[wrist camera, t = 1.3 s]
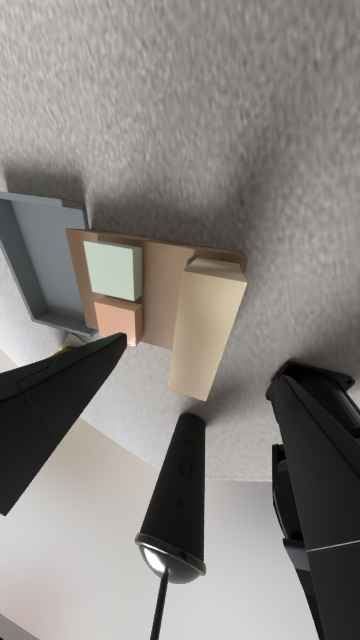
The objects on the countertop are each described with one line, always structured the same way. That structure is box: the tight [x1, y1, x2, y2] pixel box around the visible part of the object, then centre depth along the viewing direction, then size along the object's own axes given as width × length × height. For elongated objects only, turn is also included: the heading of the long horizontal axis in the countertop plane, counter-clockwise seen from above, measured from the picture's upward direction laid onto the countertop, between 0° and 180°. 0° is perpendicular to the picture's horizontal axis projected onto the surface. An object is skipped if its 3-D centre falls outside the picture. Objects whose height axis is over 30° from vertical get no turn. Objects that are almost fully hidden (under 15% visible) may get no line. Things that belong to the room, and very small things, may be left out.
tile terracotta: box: [94, 297, 142, 347], centre depth 16 cm, size 4×4×2 cm
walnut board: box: [65, 228, 248, 350], centre depth 16 cm, size 15×10×3 cm, turn 82°
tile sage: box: [83, 240, 142, 301], centre depth 13 cm, size 4×4×2 cm
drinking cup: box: [135, 414, 206, 640], centre depth 19 cm, size 8×8×20 cm
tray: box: [0, 192, 99, 338], centre depth 18 cm, size 9×14×2 cm, turn 172°
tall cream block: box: [167, 256, 247, 401], centre depth 12 cm, size 3×9×5 cm, turn 172°
